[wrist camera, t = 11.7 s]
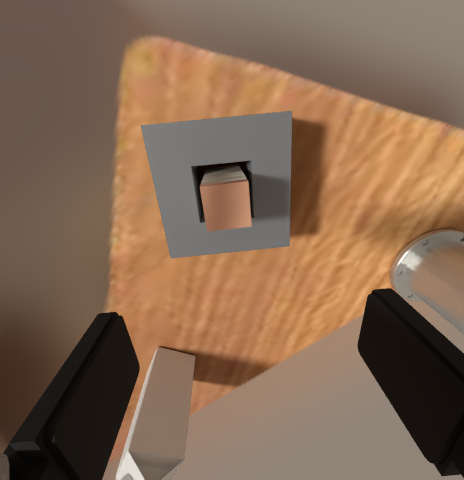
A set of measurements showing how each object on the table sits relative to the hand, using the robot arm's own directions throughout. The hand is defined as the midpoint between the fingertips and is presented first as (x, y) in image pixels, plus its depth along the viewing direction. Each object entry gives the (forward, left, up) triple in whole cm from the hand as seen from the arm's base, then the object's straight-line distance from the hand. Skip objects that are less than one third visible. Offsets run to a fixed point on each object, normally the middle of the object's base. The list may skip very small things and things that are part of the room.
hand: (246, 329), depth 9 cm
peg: (0, -1, -24) cm, 24 cm away
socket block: (0, -1, -23) cm, 23 cm away
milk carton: (+13, +31, -24) cm, 41 cm away
